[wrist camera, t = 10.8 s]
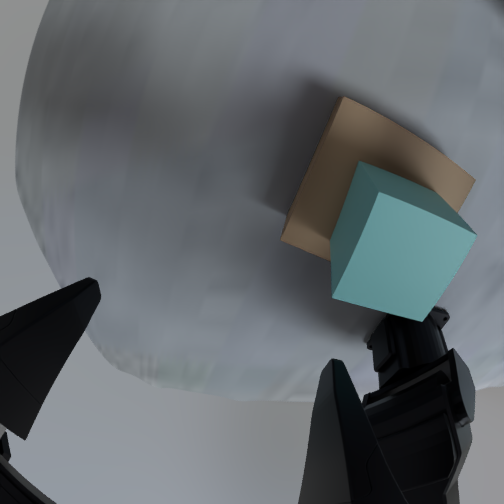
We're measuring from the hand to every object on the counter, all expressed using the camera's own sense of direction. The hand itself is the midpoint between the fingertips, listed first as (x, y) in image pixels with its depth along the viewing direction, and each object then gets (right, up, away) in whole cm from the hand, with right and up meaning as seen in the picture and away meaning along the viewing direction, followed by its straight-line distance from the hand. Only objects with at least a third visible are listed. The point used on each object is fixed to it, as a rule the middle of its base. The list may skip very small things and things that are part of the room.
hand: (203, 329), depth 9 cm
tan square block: (+10, +7, +8) cm, 14 cm away
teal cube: (+9, +5, +5) cm, 11 cm away
